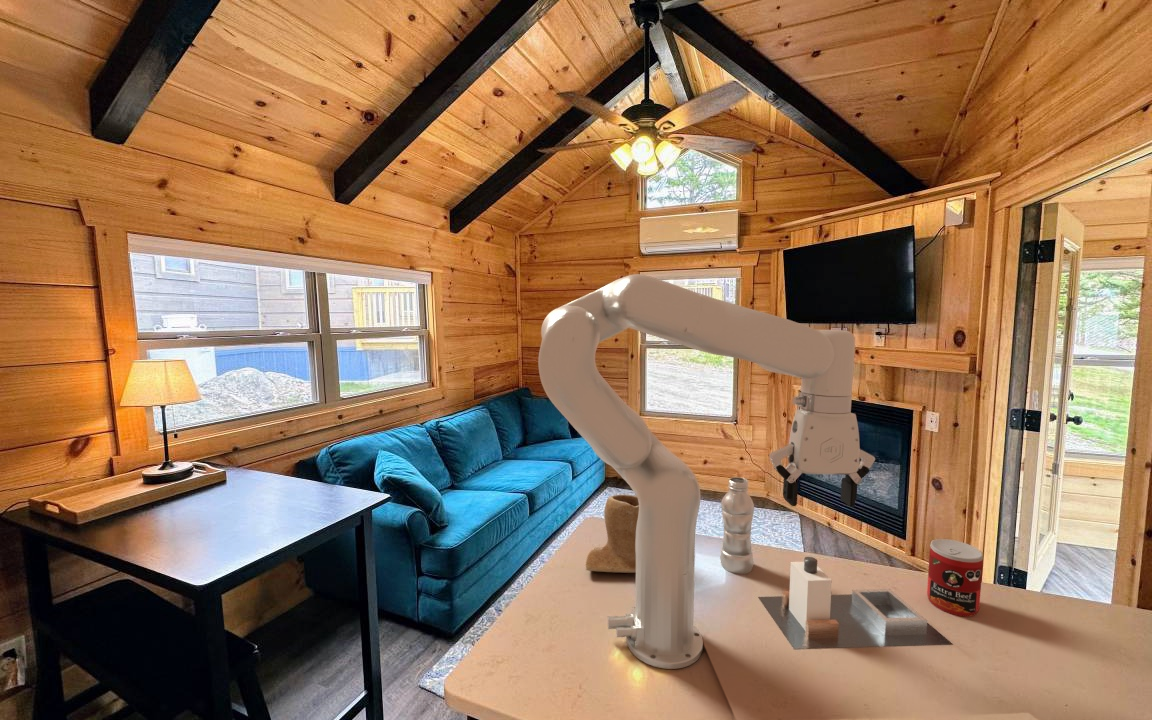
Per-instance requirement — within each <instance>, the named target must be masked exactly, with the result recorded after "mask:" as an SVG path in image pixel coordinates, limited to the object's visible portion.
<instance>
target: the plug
mask: <svg viewBox="0 0 1152 720" xmlns="http://www.w3.org/2000/svg"><path fill="white" fill-rule="evenodd" d="M789 565H790V570H789V571H790V572H789V591H790V593H789V610H790V612H791V613H792V614H793V615H794V617H795V618H796V619H797V621H798V622H799V623H800V625H801V626H802V627H803V628H804V630H805V626H806V620H830V606H831V595H832V580H833V579H831V578H830V577H829V576H828V574H826V573H825V572H824V571H823V570H822V569H821V568H820V567H819V566H818V559H816V558H815V557H812V556H805V557H804V559H803V561H791V562H790V564H789Z"/></svg>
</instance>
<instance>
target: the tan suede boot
mask: <svg viewBox="0 0 1152 720" xmlns="http://www.w3.org/2000/svg"><path fill="white" fill-rule="evenodd" d="M603 511H604V512H603V516H604V517H603V518H604V522H605V528H606V534H607V535H606V536H607V537H606V538H607V540H606V541H607V542H606V544H605V545H604V546H599V547H597V546H596V547H594V548H593V549H591V550H589V552H588V554H587V557H586V561H585V571H589V572H599V573H600V572H602V573H603V572H605V573H622V574H623V573H624V574H625V573H628V574H636V552H635V538H636V526H637V520H638V514H639V502H638V498H637V496H636V495H635V494H634V495H633V494H614V495H610V496H609V497H608V498H607V500H606V502H605V506H604V510H603Z"/></svg>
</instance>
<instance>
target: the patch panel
mask: <svg viewBox="0 0 1152 720" xmlns="http://www.w3.org/2000/svg"><path fill="white" fill-rule="evenodd" d="M789 593H790V590H782V591H781V596H778V595H777V596H775V595H774V596H757V598H758V599H759V601H760V602H761V604H762V605H763V607H764V608H765V609H766V612H767V613H768V614H769V615H770V617H771V618H772V620H773V621H774V623H775V624H776V626H777V627H778V628H779V630H780V631H781V633H782V634H783V636H784V637H785V638H786V640H787V641H788V643H789V644H790V645H791V647H792V649H793V650H811V649H812V650H814V649H815V650H817V649H818V650H821V649H847V648H848V649H851V648H854V649H856V648H880V647H881V648H882V647H884V648H887V647H888V648H889V647H916V646H944V645H945V646H951V645H954V643H952V642H951V641H950V640H949V639H948V638H946V637H945V636H944V635H943V634H942V633H940V632H939V631H938V630H937V629H936V628H935V627H934V626H932V625H931V624H930V623H928V620H927V619H926V618H925V617H924V616H923V615H921V613H919V612H918V611H917V610H915V609H914V608H913V607H912V606H911V605H910V604H908V603H907V602H906V601H905V600H904V599H902V598H901V597H900V596H899V595H898V594H897V593H896V592H894V591H893V590H892V589H890V588H875V589H873V588H871V589H865V588H863V589H852V592H851V593H852V594H831V606H830V620H806V626H805V630H804V628H803V627H802V626H801V625H800V623H799V622H798V621H797V619H796V618H795V617H794V615H793V614H792V613H791V612H790V610H789Z"/></svg>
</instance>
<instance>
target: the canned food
mask: <svg viewBox="0 0 1152 720" xmlns="http://www.w3.org/2000/svg"><path fill="white" fill-rule="evenodd" d="M983 564H984V553H983V552H982V551H981V550H980V549H978V548H977V547H975V546H974V545H971V544H968V543H965V542H962V541H958V540H955V539H947V538H937V539H933V540H931V542H930V545H929V555H928V574H927V589H926V590H927V591H926V593H927V598H928V601H929V602H930V604H932V605H933V606H934V607H935V608H936V609H938V610H941V611H943V612H946V613H948V614H951V615H954V616H959V617H972V616H975V615H977V613H978V612H979V609H980V602H981V592H982V591H981V590H982V580H983V579H982V577H983V569H984V568H983V567H984V565H983Z"/></svg>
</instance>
